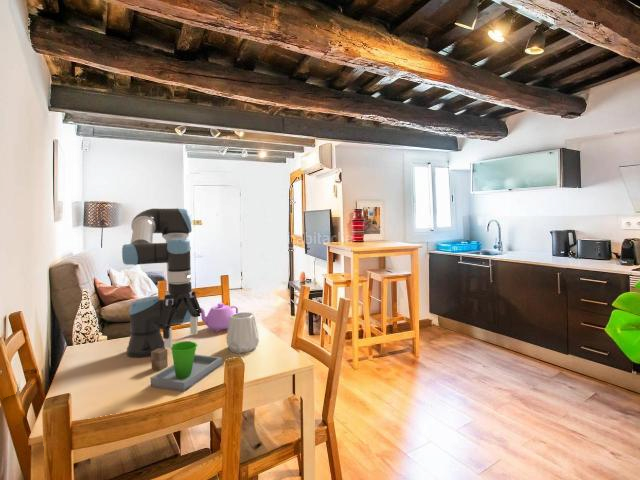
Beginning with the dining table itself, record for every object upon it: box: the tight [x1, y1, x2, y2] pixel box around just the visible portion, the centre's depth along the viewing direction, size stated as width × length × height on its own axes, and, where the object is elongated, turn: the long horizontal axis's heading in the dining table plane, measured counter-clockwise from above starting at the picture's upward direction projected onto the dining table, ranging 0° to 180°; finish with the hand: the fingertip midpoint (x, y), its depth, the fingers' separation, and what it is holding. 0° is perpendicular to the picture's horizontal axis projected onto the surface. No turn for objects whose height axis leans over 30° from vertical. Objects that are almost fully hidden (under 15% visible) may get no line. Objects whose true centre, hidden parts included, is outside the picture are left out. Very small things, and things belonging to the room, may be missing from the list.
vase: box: [226, 312, 260, 354], centre depth 152 cm, size 14×14×15 cm
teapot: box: [200, 302, 239, 334], centre depth 180 cm, size 22×16×14 cm
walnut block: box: [150, 348, 169, 372], centre depth 133 cm, size 4×4×7 cm
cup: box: [170, 340, 198, 378], centre depth 123 cm, size 9×9×11 cm
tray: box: [150, 353, 223, 392], centre depth 126 cm, size 14×22×3 cm, turn 163°
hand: (181, 340), depth 123 cm, fingers open, 13 cm apart
